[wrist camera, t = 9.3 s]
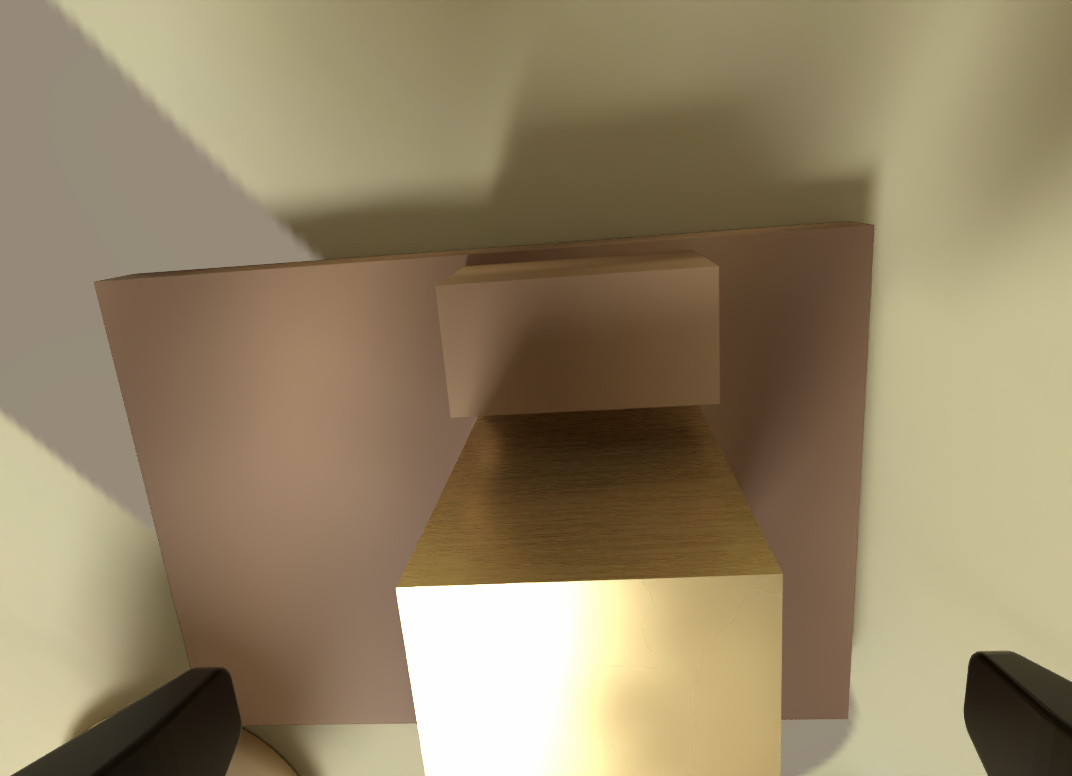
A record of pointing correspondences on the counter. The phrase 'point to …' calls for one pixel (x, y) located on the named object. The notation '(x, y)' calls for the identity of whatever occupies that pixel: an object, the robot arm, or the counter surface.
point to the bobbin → (255, 758)
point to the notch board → (449, 415)
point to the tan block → (594, 604)
